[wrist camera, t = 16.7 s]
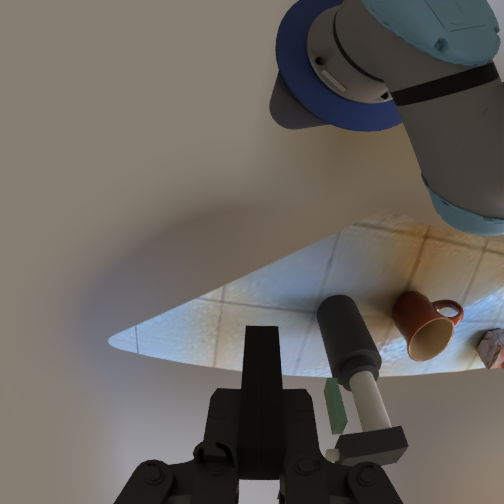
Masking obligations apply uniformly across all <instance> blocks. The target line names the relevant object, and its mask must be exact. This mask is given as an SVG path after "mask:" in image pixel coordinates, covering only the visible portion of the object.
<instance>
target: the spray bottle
mask: <svg viewBox="0 0 504 504" xmlns="http://www.w3.org/2000/svg"><path fill="white" fill-rule="evenodd" d="M317 320H318V323H319V327H320V331H321V334H322V338H323V342H324V346H325V350H326V353H327V357H328V361H329V365H330V369H331V373H332V377H333V378H335V377H336V378H337V382H338V384H340V385H343V387H344V388H345V389H346V390H348V391H351V392H352V394H353V398H354V401H355V405H356V408H357V412H358V415H359V419H360V422H361V426H362V430H363V432H361V433H353V434H345V435H340V436H339V439H338V441H337V443H336V446H335V448H334V449H329V450H326V454H325V455H326V456H325V457H326V459H327V460H328V461H330V462H332V461H335V464H340V465H346V466H352V467H353V466H355V465H356V464H358V463H361V462H366V461H367V462H374V463H376V464H378V465H380V466H382V465H387V464H392V463H396V462H397V461H398V460H399V459H400V458H401V456H402V455H403V453H404V452H405V451H406V450H407V448H408V447H409V446H408V443H407V440H406V438H405V435H404V432H403V429H402V426H397V427H392V426H391V423H390V420H389V417H388V415H387V412H386V409H385V407H384V404H383V401H382V398H381V396H380V393H379V390H378V388H377V385H376V381H377V379H378V377H379V369H380V367H381V363H382V360H381V356H380V354H379V352H378V350H377V348H376V346H375V343H374V341H373V339H372V337H371V335H370V333H369V331H368V329H367V327H366V325H365V322H364V320H363V318H362V316H361V314H360V312H359V310H358V308H357V306H356V304H355V302H354V301H353V300H352V299H351V298H350V297H348V296H345V295H335V296H331V297H329V298H327V299H326V300H324V301H323V302H322V303H321V305H320V306H319V308H318V310H317Z"/></svg>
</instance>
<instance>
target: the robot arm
mask: <svg viewBox="0 0 504 504" xmlns="http://www.w3.org/2000/svg"><path fill="white" fill-rule="evenodd" d="M498 32H499V25H498V22H497V19H496V17H495V15H494V13H493V11H492V9H491V7H490V5H489V4H488V2H487V1H486V0H344V1H343V3H342V4H341V5H339V6H334V7H332V8H329V9H327V10H325V11H324V12H322V13H321V14H320V15H318V17H317V18H316V19H315V20H314V21H313V23H312V25H311V27H310V29H309V31H308V33H307V37H306V42H305V51H306V57H307V60H308V63H309V66H310V68H311V70H312V72H313V73H314V75H315V76H316V78H317V79H318V80H319V81H320V82H321V84H322V85H323V86H324V87H326V88H327V89H328V90H329V91H330V92H332V93H333V94H335V95H336V96H338V97H340V98H342V99H344V100H347V101H349V102H353V103H357V104H365V105H369V104H377V103H382V102H386V101H389V100H391V99H393V100H394V103H395V105H396V108H397V110H398V112H399V115H400V117H401V119H402V121H403V124H404V126H405V128H406V131H407V133H408V136H409V138H410V141H411V144H412V146H413V149H414V152H415V154H416V157H417V160H418V163H419V165H420V168H421V171H422V173H421V176H422V179H423V182H424V184H425V186H426V187H427V189H428V190H429V193H430V196H431V199H432V202H433V205H434V208H435V210H436V211H437V213H438V214H439V215H440V216H441V217H442V219H444V220H445V221H446V222H447V223H448V224H449V225H451V226H453V227H454V228H456V229H459V230H461V231H463V232H466V233H471V234H475V235H481V236H498V235H504V82H502V81H501V79H500V77H499V74H498V72H497V69H496V67H495V65H494V62H493V60H492V59H493V58H494V56H495V55H496V54H497V52H498V50H499V46H500V38H499V36H498V35H497V33H498ZM193 455H194V459H193V460H191V461H189V462H185V463H179V464H172V465H167V464H166V463H164V462H163V461H159V460H148V461H145V462H142V463H141V464H140V465H139V466H138V467H137V468H136V469H135V471H134V472H133V474H132V476H131V477H130V479H129V480H128V482H127V483H126V485H125V487H124V488H123V490H122V491H121V493H120V494H119V496H118V497H117V499H116V501H115V502H114V504H238V501H239V500H238V499H239V479H242V480H279V479H280V490H279V493H278V498H277V499H279V504H403V502H402V501H401V499H400V497H399V496H398V494H397V492H396V490H395V489H394V487H393V485H392V483H391V482H390V480H389V478H388V476H387V475H386V473H385V471H384V470H383V469H382V467H381V466H380V465H378V464H376V463H374V462H367V461H366V462H361V463H358V464H356V465H355V466H353V467H352V466H346V465H340V464H335V463H332V462H330V461H328V460H327V459H326V458H325V457H323V455H322V454H321V452H320V449H319V442H318V436H317V429H316V422H315V415H314V410H313V402H312V398H311V396H310V395H309V393H308V392H307V390H306V389H283V387H282V371H281V357H280V344H279V331H278V326H246V331H245V344H244V358H243V371H242V385H241V389H225V388H217V389H216V391H215V392H214V394H213V395H212V396H211V398H210V404H209V410H208V417H207V422H206V428H205V434H204V440H203V442H201V443H200V444H198V445H197V446H196V447H195V449H194V452H193Z"/></svg>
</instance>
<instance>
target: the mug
mask: <svg viewBox="0 0 504 504" xmlns="http://www.w3.org/2000/svg"><path fill="white" fill-rule="evenodd" d="M445 307H450V308H453V309H454V310H456V311H457V312H458V314H457V315H456V316H454V317H445V316H443V315H441V314H440V313H439V312H438V311H439V310H440V309H442V308H445ZM392 315H393V320H394V322H395V325H396V327H397V328H398V329H399V331H400V333H401V334H402V336H403V337H404V339H405V340H406V343H407V351H408V354H409V356H410V358H411V359H413V360H415V361H425V360H429V359H431V358H433V357H435V356H437V355H438V354H439V353H441V352H442V351H443V350H444V349H445V348H446V346H447V345H448V344H449V342H450V340H451V339H452V336H453V333H454V326H455V325H456V324H457V323H459V322H460V321H461V320H462V319H463V316H464V312H463V308H462V307H461V306H460V305H459V304H458V303H457V302H455V301H452V300H440V301H435V302H430V301H429V299H428V298H427V297H426V296H424V295H423V294H421V293H419V292H409V293H407V294H405V295H403V296H402V297H401V298H400V299H399V300H398V301H397V302H396V304H395V305H394V308H393V313H392Z"/></svg>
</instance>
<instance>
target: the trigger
mask: <svg viewBox="0 0 504 504" xmlns="http://www.w3.org/2000/svg"><path fill="white" fill-rule="evenodd" d="M324 395H325V399H326V405H327V409H328V415H329V420H330V425H331V430H332V434H333V435H334V434H342V433H343V431H344V428H345V426H346V423H347V417H346V413H345V409H344V405H343V401H342V397H341V393H340V389H339V386H338V382H337V378H336V377H335V378H327V381H326V385H325V389H324Z"/></svg>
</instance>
